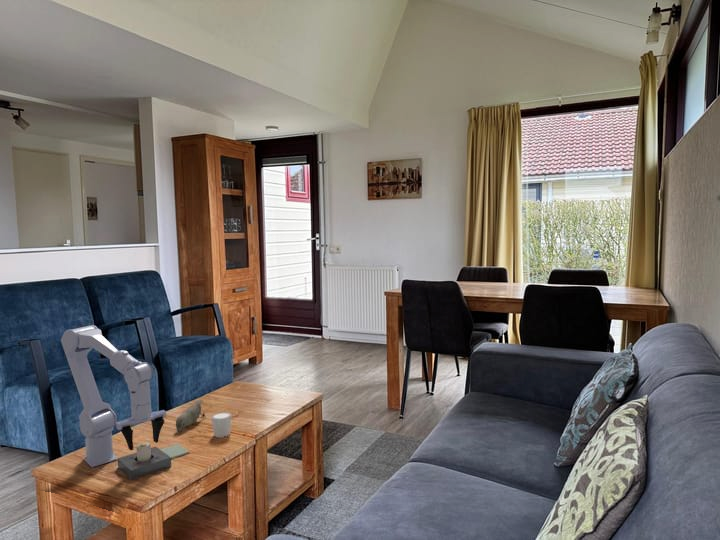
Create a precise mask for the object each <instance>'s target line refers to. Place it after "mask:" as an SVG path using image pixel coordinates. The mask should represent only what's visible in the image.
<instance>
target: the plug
mask: <svg viewBox="0 0 720 540" xmlns="http://www.w3.org/2000/svg"><path fill="white" fill-rule="evenodd" d="M151 448H152V447H151V443H149V442H143V443H140V444H139V443H138V445H136V453H137V462H144V461H147V460H150V459H151Z"/></svg>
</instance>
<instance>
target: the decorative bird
mask: <svg viewBox="0 0 720 540" xmlns="http://www.w3.org/2000/svg"><path fill="white" fill-rule="evenodd" d="M203 402H204V401H203V400H202V399H199V400H197V401H196V402H194V404H192V405H190V406H188V407H187V408H186V409H185V410H184V412H183V413H181V414H179V416H177V418H176V420H175V429H176V431H177V432H178V433H180V432H181V431H182V430H183V429H184V427H185V428H186V427H189V426H192V425H194V424H195V423H196V422H197V420H198V419H199V418H200V415H201V419H204V418H206V414H205V412H203V413H202V406H201V405H202V403H203Z"/></svg>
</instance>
